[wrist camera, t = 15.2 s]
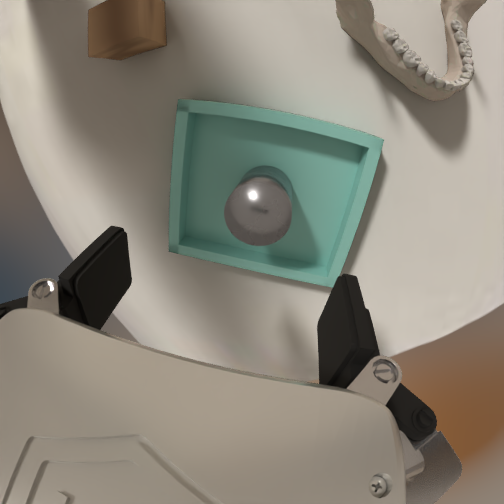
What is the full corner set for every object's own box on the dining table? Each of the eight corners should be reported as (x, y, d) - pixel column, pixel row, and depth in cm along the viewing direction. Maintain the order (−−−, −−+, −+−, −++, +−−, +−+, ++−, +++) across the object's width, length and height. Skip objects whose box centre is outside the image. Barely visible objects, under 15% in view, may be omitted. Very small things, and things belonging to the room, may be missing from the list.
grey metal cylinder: (235, 210, 25) (220, 238, 20) (243, 160, 22) (228, 177, 18) (286, 221, 24) (283, 252, 20) (298, 171, 22) (298, 191, 17)
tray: (177, 239, 28) (168, 251, 26) (189, 99, 21) (178, 99, 19) (332, 273, 27) (334, 288, 25) (375, 136, 20) (384, 139, 18)
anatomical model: (383, 125, 19) (404, 67, 9) (324, 31, 18) (305, -43, 9) (492, 95, 14) (542, 50, 5) (431, 9, 14) (447, -53, 5)
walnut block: (120, 60, 19) (88, 57, 15) (119, 18, 17) (88, 9, 12) (167, 45, 18) (139, 36, 14) (164, 2, 16) (138, -14, 11)
